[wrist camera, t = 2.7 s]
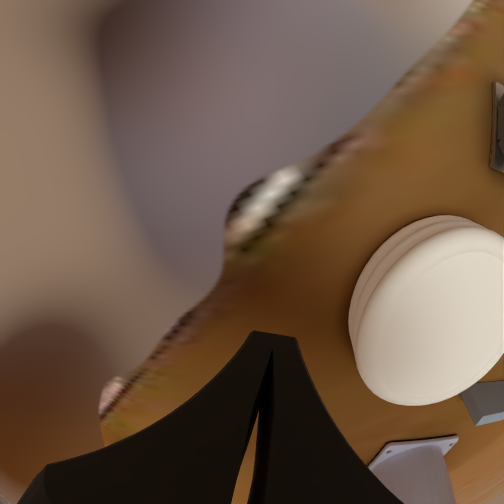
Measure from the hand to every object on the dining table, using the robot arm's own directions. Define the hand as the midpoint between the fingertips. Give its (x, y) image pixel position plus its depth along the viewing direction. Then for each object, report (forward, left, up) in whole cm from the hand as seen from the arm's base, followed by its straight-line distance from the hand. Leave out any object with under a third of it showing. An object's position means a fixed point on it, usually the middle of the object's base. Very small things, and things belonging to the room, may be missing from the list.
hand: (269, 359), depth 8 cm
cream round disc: (0, -9, -7) cm, 11 cm away
